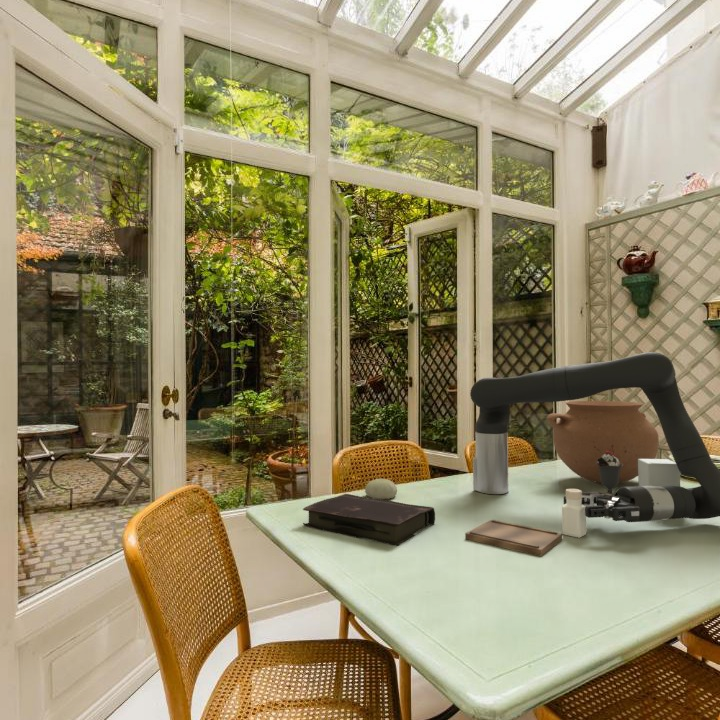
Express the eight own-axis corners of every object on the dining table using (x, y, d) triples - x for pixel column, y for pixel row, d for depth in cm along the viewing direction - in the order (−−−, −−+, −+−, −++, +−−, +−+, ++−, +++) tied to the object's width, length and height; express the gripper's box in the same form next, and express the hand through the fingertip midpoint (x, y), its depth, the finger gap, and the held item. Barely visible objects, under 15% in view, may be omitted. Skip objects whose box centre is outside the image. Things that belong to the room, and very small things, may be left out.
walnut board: (465, 538, 107) (465, 531, 107) (490, 525, 116) (490, 518, 116) (541, 556, 96) (541, 548, 96) (562, 539, 106) (561, 532, 106)
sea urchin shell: (403, 487, 146) (396, 471, 141) (396, 511, 141) (388, 496, 136) (374, 484, 150) (366, 468, 145) (366, 507, 145) (358, 492, 140)
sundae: (621, 499, 138) (620, 444, 138) (625, 505, 131) (624, 447, 132) (595, 497, 140) (594, 443, 140) (598, 503, 134) (596, 446, 134)
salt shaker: (569, 530, 112) (568, 487, 112) (587, 534, 109) (586, 490, 109) (561, 534, 109) (560, 490, 109) (580, 539, 106) (579, 493, 106)
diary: (347, 511, 131) (347, 491, 131) (435, 527, 117) (435, 505, 118) (300, 529, 116) (300, 507, 116) (395, 549, 102) (395, 524, 102)
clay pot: (589, 498, 139) (587, 407, 140) (528, 476, 168) (527, 401, 169) (691, 490, 147) (689, 404, 148) (616, 471, 176) (615, 399, 177)
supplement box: (682, 516, 121) (680, 463, 122) (648, 515, 123) (647, 463, 123) (669, 508, 129) (668, 458, 129) (638, 507, 130) (637, 457, 130)
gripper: (622, 479, 118) (557, 481, 116) (667, 494, 104) (593, 497, 102) (623, 511, 118) (557, 514, 116) (667, 530, 104) (594, 534, 102)
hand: (574, 506), depth 109 cm, fingers open, 8 cm apart
